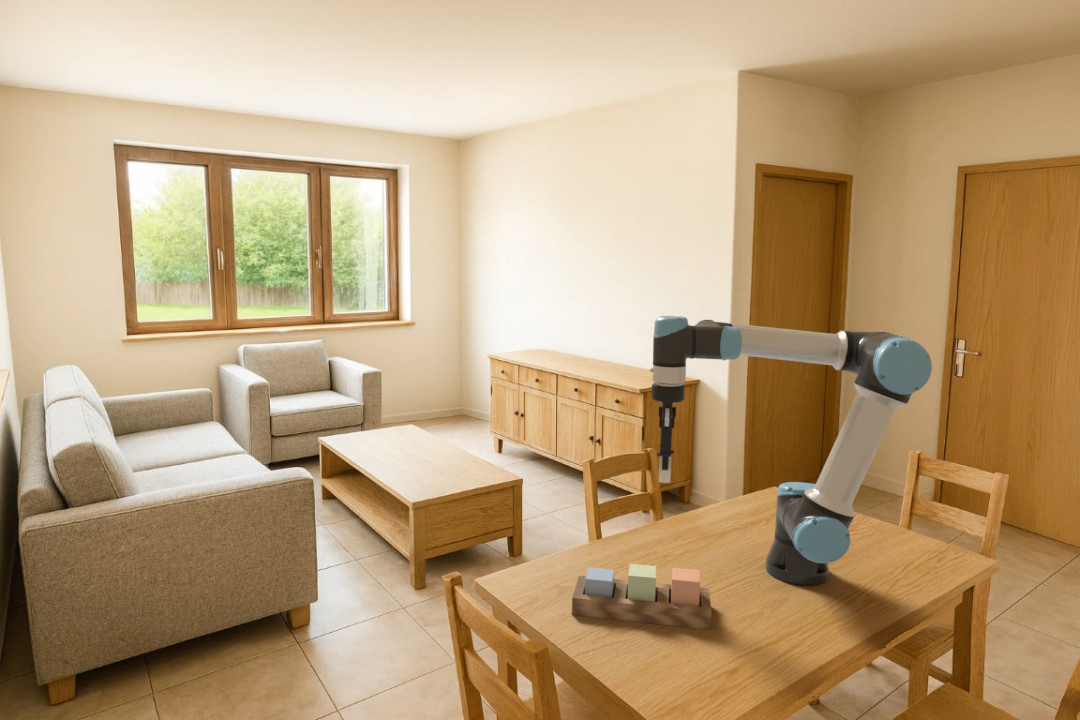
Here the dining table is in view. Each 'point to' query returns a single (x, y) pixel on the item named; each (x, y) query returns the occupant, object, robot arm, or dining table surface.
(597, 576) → the pale blue-grey cube
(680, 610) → the wooden cube holder tray
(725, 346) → the robot arm
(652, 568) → the pastel lime cube
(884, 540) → the dining table surface
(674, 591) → the salmon pink cube
